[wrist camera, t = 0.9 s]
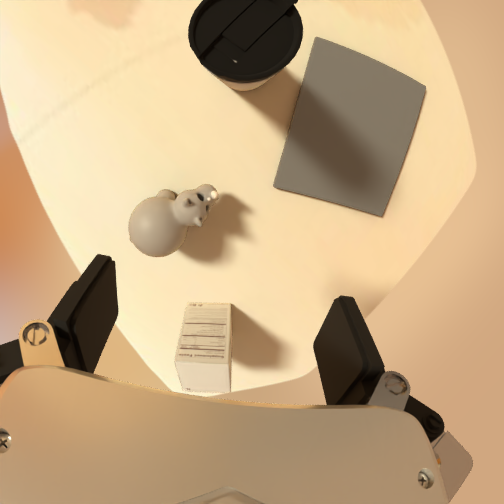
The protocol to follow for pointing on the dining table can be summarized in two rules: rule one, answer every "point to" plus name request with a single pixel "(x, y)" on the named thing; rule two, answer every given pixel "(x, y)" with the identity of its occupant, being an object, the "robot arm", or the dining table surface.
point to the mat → (349, 129)
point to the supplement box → (205, 348)
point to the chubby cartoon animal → (169, 219)
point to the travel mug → (245, 39)
